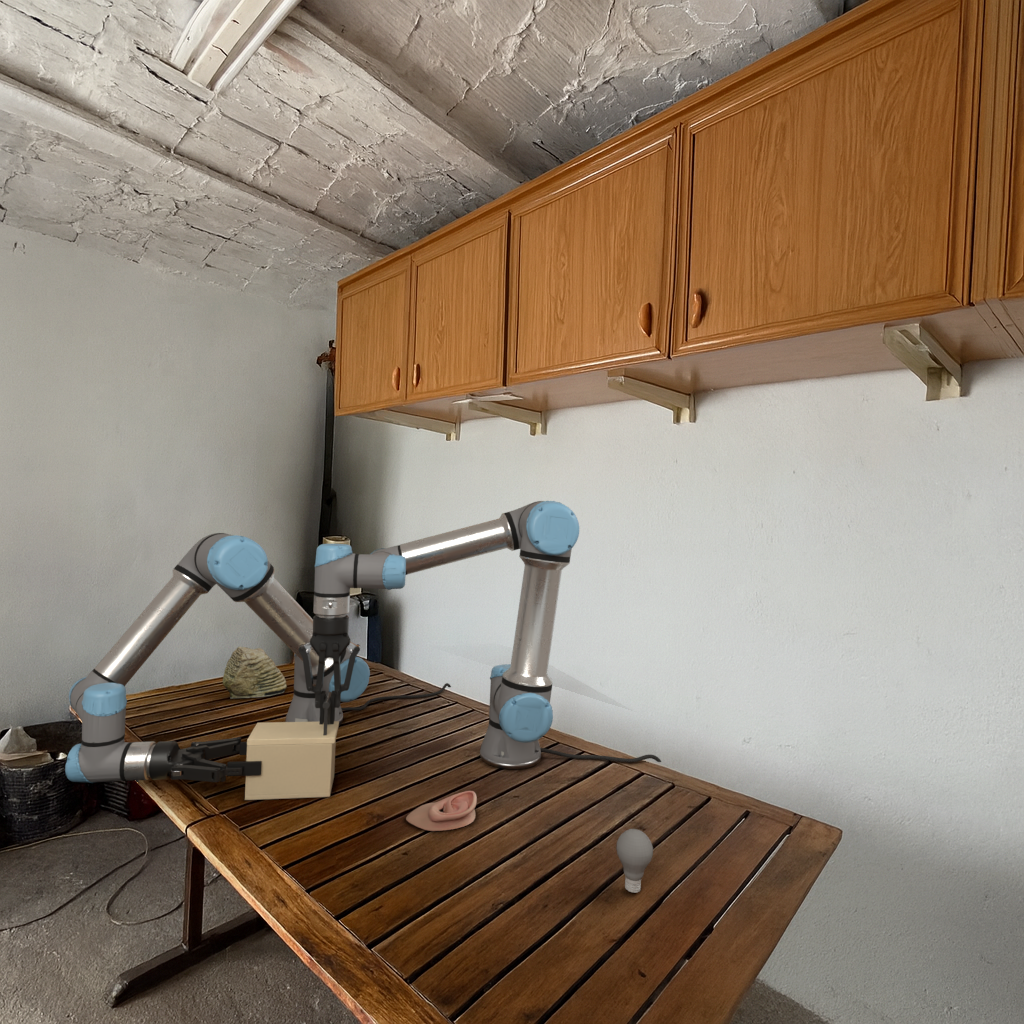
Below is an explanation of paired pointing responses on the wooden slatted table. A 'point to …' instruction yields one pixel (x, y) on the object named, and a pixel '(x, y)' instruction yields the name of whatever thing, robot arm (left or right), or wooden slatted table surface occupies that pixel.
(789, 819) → the wooden slatted table surface
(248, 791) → the chest
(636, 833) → the light bulb
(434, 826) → the anatomical model
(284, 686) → the fossil
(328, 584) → the right robot arm
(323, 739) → the lid
